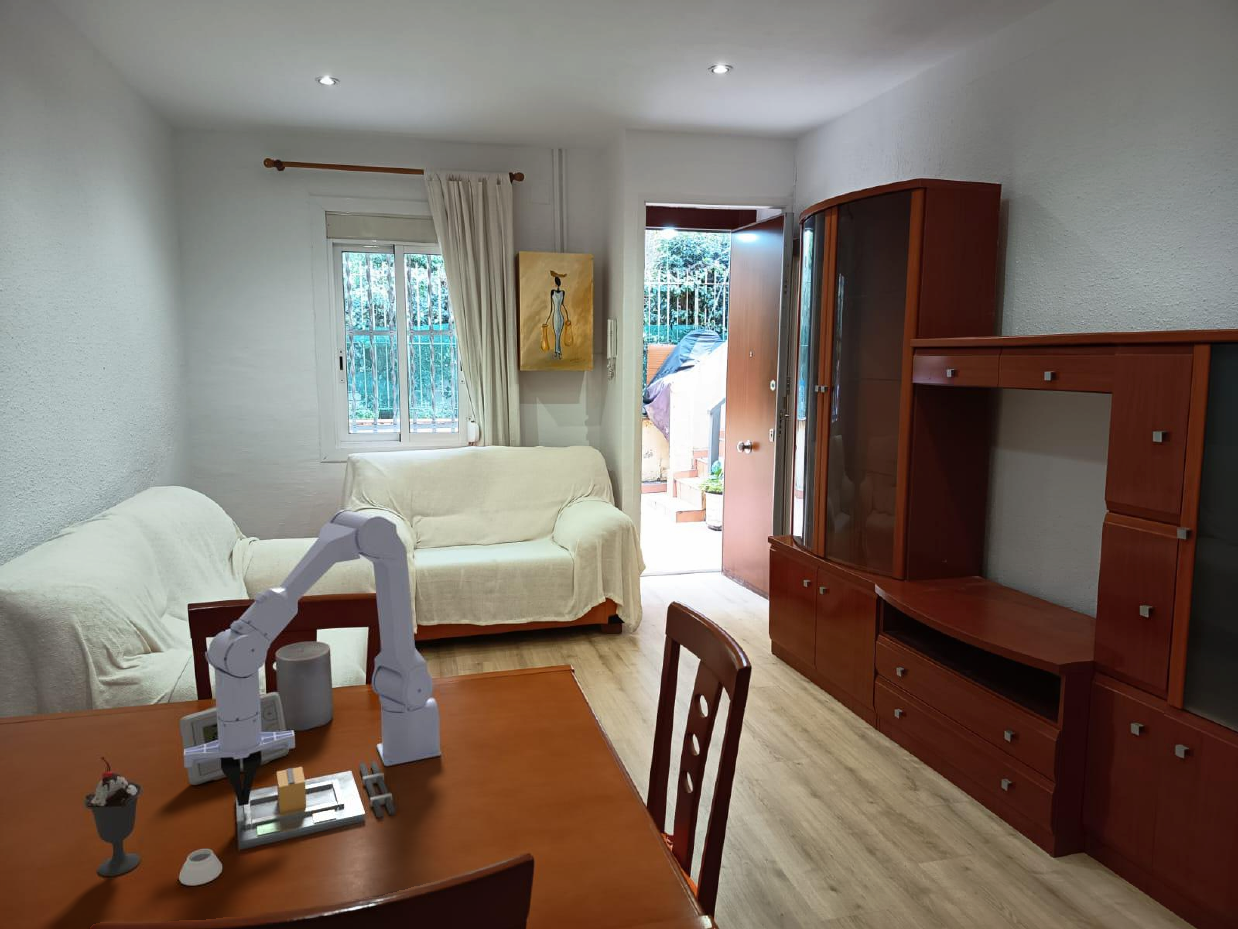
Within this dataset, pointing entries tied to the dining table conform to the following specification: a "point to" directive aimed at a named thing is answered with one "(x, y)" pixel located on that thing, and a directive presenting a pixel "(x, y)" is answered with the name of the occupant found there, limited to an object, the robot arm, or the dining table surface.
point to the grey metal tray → (299, 811)
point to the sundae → (115, 819)
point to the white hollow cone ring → (200, 868)
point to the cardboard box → (291, 790)
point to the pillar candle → (305, 684)
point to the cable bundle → (368, 781)
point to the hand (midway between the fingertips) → (243, 802)
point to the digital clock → (205, 730)
